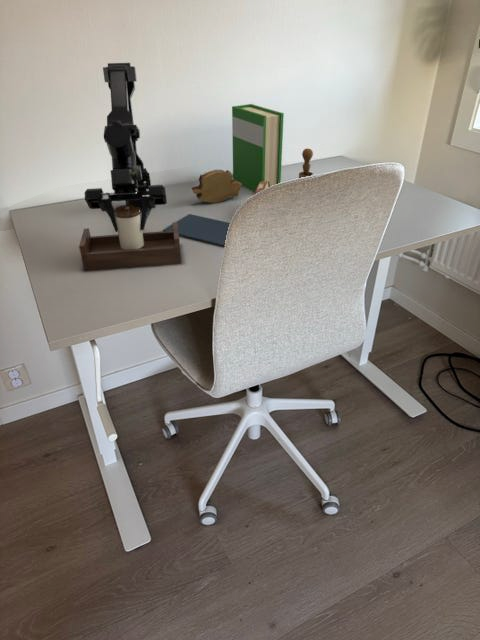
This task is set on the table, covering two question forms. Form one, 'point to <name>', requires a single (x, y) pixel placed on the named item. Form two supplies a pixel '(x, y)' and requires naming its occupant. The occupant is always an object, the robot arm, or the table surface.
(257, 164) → the hardback book
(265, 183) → the tin
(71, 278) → the table surface
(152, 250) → the brown wooden tray
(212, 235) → the mat
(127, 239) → the canister
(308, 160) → the brown wooden pawn
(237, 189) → the wooden carving
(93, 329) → the table surface
